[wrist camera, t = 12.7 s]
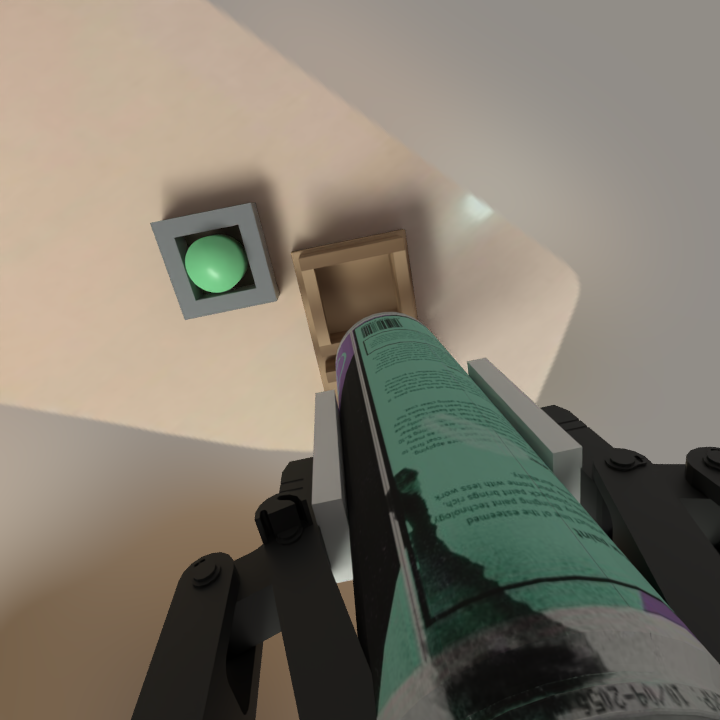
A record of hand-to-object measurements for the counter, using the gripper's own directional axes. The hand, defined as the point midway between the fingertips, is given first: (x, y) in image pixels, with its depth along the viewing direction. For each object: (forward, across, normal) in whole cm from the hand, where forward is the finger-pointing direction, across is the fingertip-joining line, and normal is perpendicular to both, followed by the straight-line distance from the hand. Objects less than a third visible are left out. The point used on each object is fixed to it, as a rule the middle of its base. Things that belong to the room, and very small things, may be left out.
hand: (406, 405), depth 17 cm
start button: (+23, -11, +5) cm, 26 cm away
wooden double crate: (+23, 0, -5) cm, 23 cm away
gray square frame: (+23, -11, +5) cm, 26 cm away
